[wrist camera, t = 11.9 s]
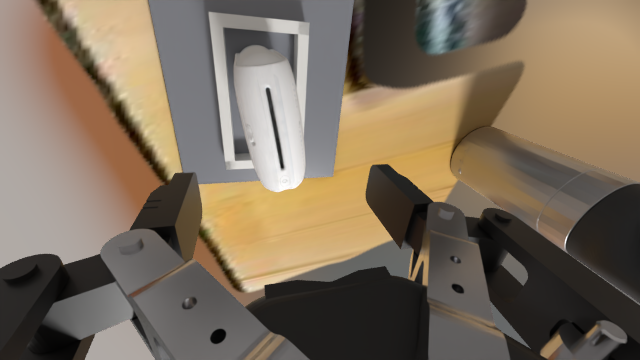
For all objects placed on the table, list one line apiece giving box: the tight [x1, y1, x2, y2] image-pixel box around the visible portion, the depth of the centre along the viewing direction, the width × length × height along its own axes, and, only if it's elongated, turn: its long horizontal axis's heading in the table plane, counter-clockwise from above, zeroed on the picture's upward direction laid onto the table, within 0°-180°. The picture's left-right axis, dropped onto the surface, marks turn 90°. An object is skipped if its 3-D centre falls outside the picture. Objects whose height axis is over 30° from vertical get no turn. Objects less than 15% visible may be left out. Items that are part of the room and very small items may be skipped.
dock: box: [148, 0, 354, 184], centre depth 27 cm, size 18×20×3 cm
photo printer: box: [233, 45, 306, 192], centre depth 22 cm, size 10×4×12 cm, turn 6°
